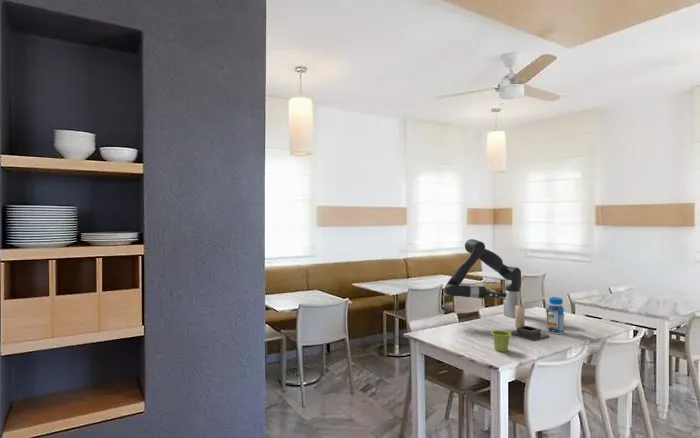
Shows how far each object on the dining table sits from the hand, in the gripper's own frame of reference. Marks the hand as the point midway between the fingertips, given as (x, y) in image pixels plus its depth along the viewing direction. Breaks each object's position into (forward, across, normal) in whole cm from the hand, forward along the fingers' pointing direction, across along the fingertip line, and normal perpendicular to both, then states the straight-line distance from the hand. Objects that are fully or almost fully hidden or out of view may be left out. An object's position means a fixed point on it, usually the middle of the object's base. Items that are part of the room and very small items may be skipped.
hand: (504, 294), depth 247 cm
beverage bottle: (+28, -9, +19) cm, 35 cm away
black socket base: (+10, -17, +20) cm, 28 cm away
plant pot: (-12, -44, +22) cm, 50 cm away
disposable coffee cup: (+32, +7, +19) cm, 38 cm away
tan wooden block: (+10, 0, +20) cm, 22 cm away
